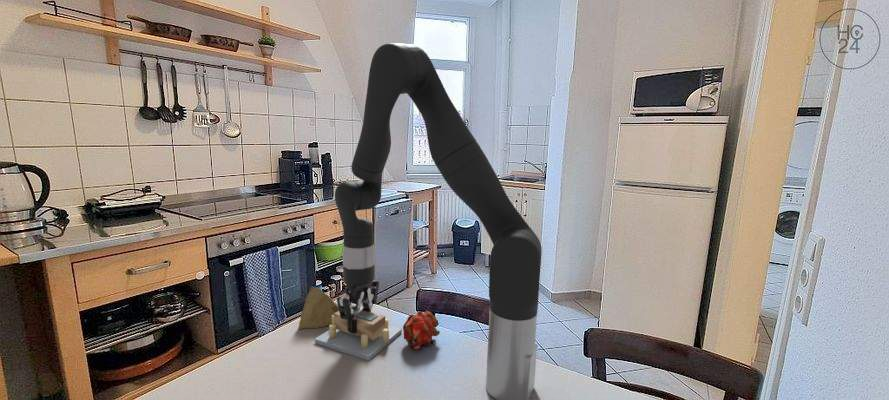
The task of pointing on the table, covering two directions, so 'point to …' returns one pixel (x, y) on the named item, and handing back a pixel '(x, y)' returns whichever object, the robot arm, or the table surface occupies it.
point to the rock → (317, 310)
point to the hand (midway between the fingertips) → (359, 327)
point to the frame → (363, 323)
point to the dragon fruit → (420, 329)
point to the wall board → (357, 341)
